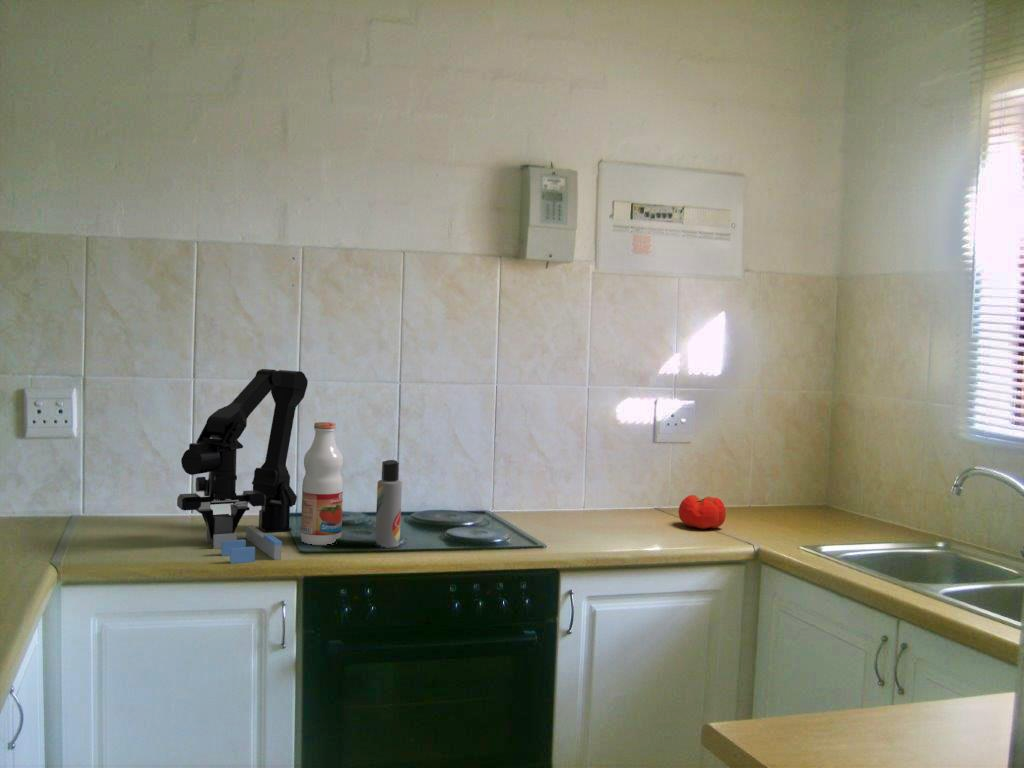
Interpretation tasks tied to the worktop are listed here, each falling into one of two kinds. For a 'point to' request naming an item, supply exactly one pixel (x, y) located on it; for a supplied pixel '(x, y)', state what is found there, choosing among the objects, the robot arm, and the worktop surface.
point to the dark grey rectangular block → (222, 524)
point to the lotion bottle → (388, 506)
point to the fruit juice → (322, 488)
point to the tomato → (702, 512)
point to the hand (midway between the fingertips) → (221, 537)
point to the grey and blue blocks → (239, 549)
